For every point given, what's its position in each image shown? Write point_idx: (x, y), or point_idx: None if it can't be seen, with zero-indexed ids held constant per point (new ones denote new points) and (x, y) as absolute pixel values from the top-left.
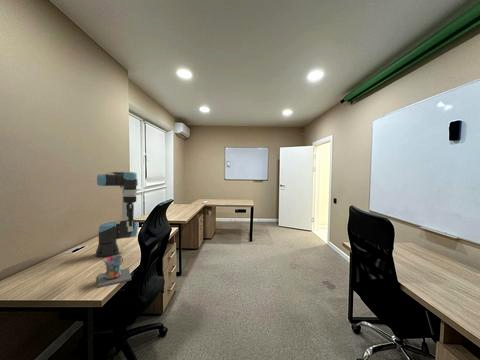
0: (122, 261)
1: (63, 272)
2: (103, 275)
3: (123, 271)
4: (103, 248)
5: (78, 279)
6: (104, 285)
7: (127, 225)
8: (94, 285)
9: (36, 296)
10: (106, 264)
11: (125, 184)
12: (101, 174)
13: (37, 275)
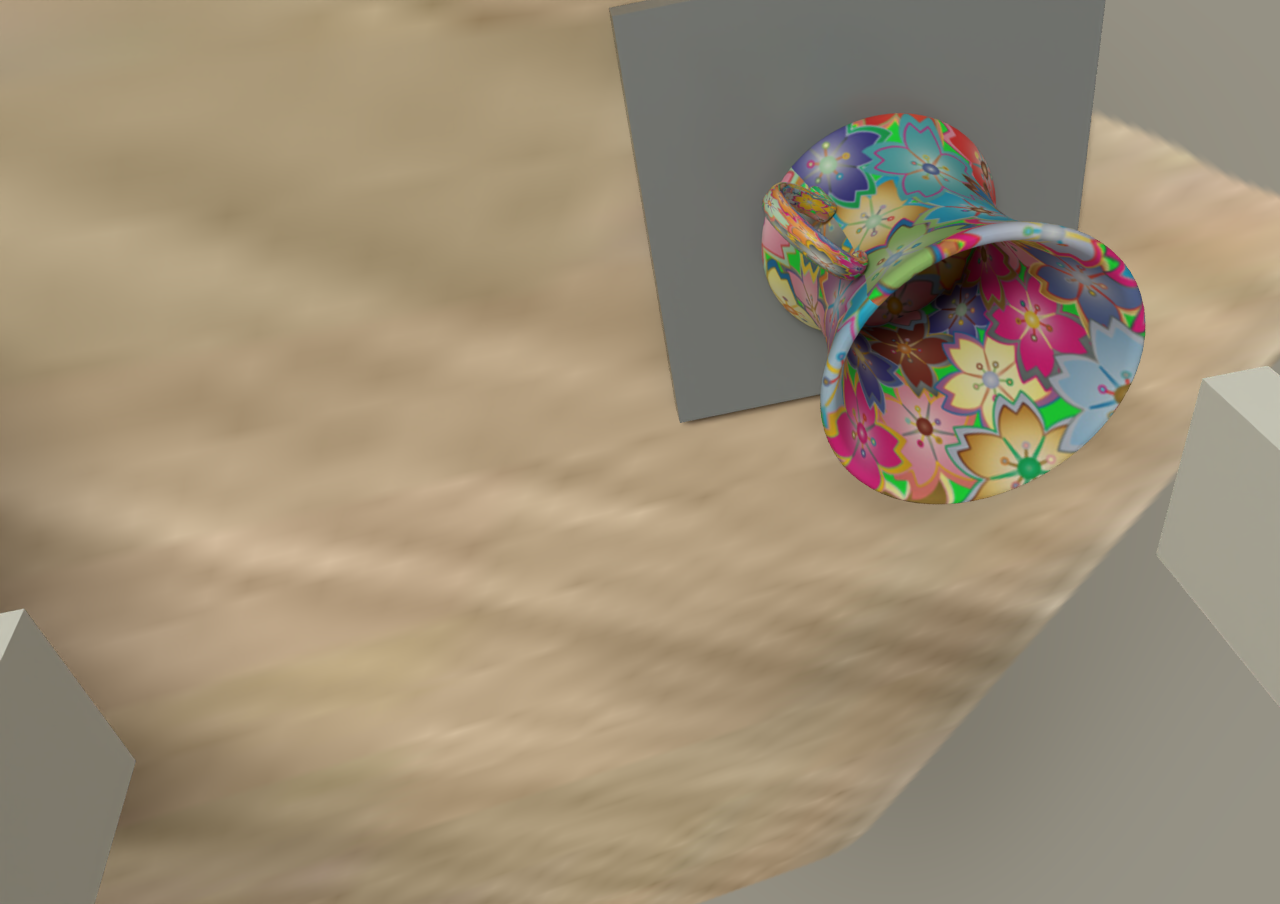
0: (786, 184)
1: (431, 742)
2: (764, 352)
3: (740, 91)
4: None
5: (698, 569)
6: None
7: (98, 787)
8: None
9: (916, 722)
10: (1012, 417)
11: None
12: None
13: (445, 872)
